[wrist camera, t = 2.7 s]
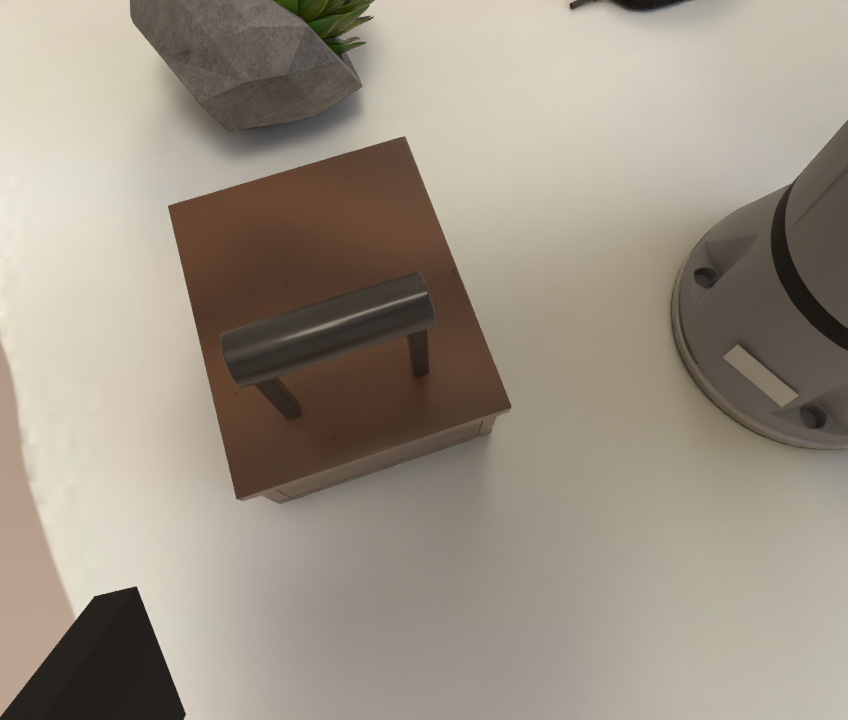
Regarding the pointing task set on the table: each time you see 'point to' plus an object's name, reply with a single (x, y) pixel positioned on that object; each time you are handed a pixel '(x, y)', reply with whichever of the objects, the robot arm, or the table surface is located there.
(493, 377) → the bin lid
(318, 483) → the bin
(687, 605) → the table surface
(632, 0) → the gaming mouse
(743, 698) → the table surface
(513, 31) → the table surface
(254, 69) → the potted plant
